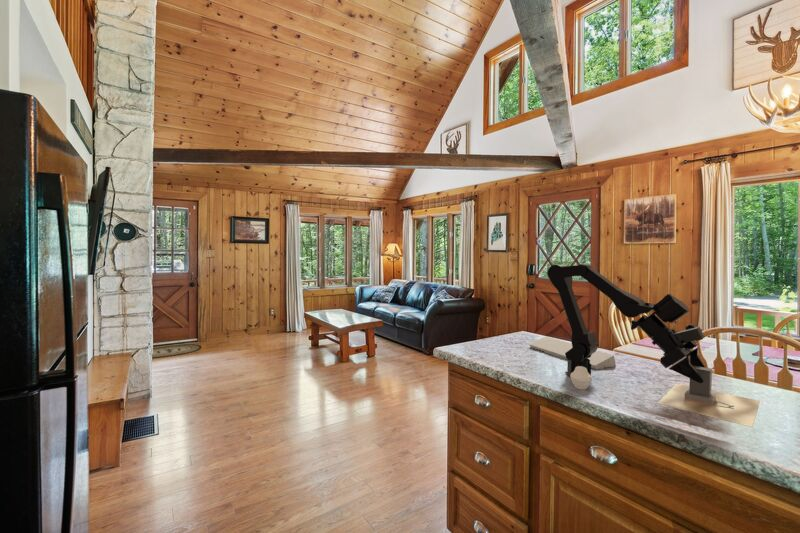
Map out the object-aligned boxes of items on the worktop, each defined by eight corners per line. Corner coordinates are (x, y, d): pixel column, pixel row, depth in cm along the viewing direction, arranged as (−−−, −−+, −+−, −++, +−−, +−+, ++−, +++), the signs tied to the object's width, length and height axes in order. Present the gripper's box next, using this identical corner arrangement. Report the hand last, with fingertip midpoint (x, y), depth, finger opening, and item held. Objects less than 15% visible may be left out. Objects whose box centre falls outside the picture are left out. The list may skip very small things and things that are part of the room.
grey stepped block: (684, 399, 106) (685, 367, 105) (688, 394, 110) (689, 363, 109) (712, 406, 101) (713, 372, 101) (715, 400, 105) (716, 368, 105)
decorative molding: (597, 377, 138) (616, 367, 141) (595, 365, 137) (613, 355, 141) (531, 354, 169) (548, 346, 173) (529, 344, 168) (545, 336, 172)
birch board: (654, 408, 103) (654, 403, 103) (674, 386, 120) (674, 382, 120) (754, 434, 89) (755, 428, 89) (762, 405, 105) (762, 400, 105)
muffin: (569, 389, 117) (570, 367, 117) (569, 383, 123) (570, 362, 122) (592, 392, 115) (592, 370, 114) (591, 386, 120) (591, 364, 120)
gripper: (675, 319, 101) (728, 369, 94) (689, 312, 114) (737, 355, 107) (641, 343, 107) (688, 392, 100) (658, 334, 120) (701, 376, 113)
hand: (705, 378), depth 105 cm, fingers open, 9 cm apart
